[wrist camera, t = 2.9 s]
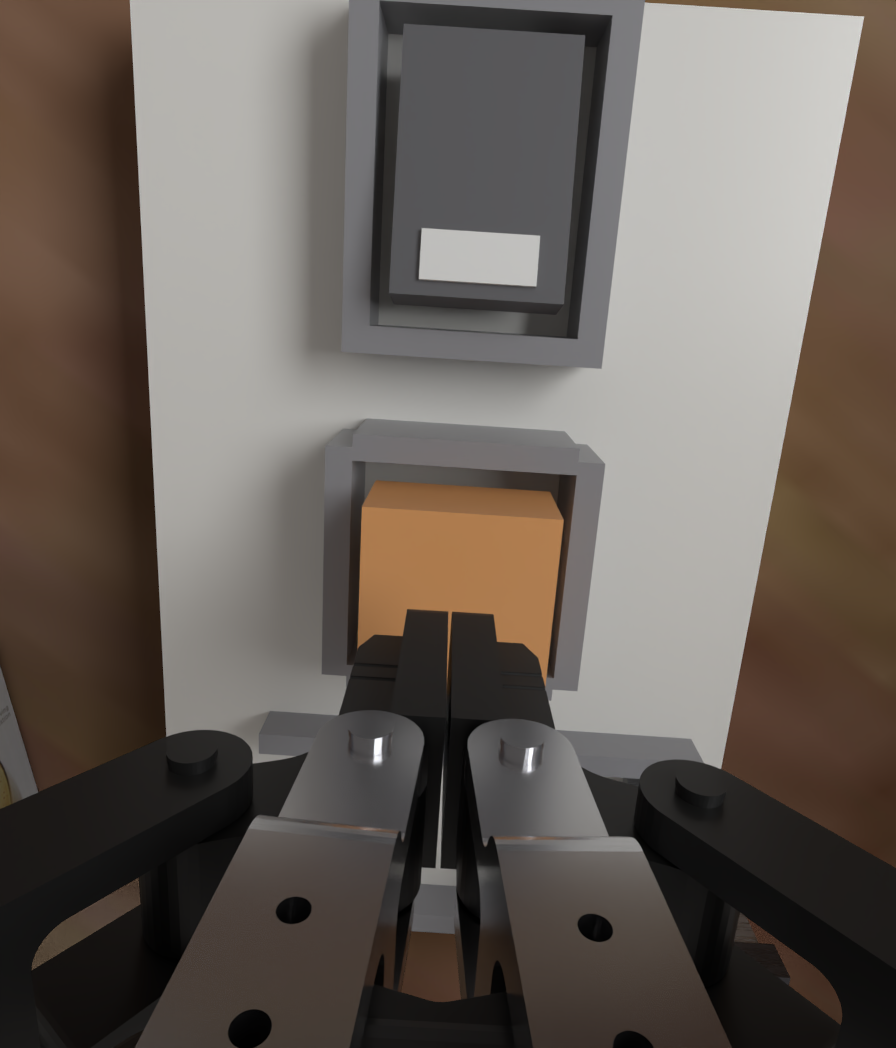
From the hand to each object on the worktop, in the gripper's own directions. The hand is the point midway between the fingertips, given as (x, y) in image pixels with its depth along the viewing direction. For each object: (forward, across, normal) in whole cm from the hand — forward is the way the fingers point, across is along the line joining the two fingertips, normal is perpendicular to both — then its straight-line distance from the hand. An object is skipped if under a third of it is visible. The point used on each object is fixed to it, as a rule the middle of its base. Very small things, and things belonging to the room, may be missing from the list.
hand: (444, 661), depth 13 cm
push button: (+5, 0, 0) cm, 5 cm away
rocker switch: (+6, 0, -8) cm, 10 cm away
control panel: (+10, 0, 0) cm, 10 cm away
